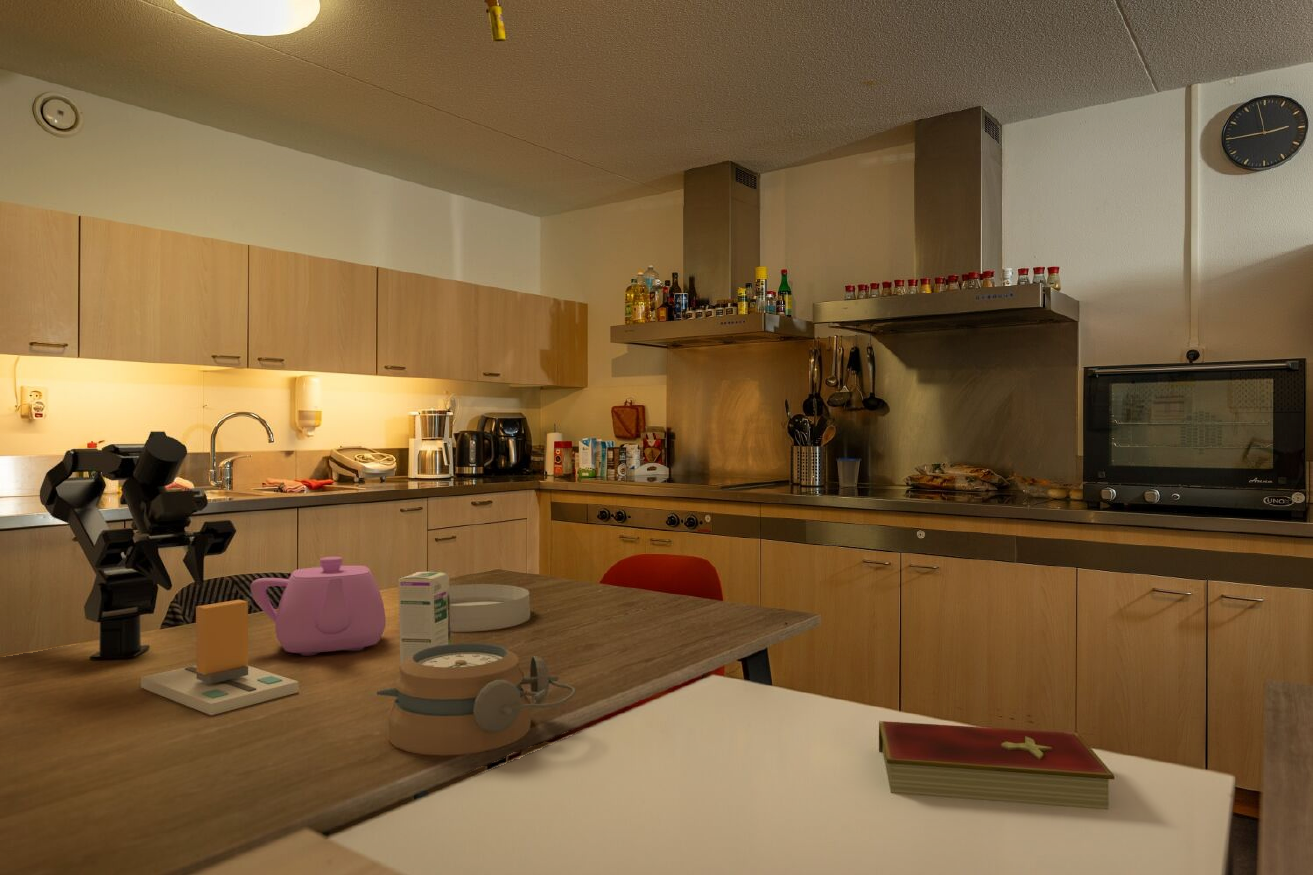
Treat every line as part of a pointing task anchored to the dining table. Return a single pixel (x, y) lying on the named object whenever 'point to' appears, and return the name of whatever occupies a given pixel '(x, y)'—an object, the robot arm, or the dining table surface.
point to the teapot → (325, 608)
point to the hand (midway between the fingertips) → (185, 586)
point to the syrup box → (423, 612)
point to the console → (218, 689)
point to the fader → (222, 641)
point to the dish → (487, 607)
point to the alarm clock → (465, 699)
